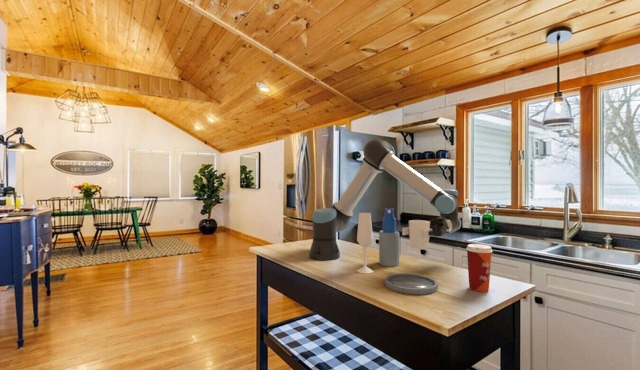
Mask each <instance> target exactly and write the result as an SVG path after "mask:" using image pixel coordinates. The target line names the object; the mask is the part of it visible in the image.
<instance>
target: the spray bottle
mask: <svg viewBox="0 0 640 370" xmlns="http://www.w3.org/2000/svg"><path fill="white" fill-rule="evenodd" d="M394 209H395V208H387V207H386V208H384V216H383V217H382V230H379V233H378V235H379V236H378V244H379V246H378V251H379V252H378V253H379V254H378V265H380V266H384V267H391V268H392V267H398V266H399V265H400V231H399V230H397V218H396V217H395V213H394Z"/></svg>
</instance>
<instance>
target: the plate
mask: <svg viewBox="0 0 640 370" xmlns="http://www.w3.org/2000/svg"><path fill="white" fill-rule="evenodd" d="M384 285H385V287H386V288H388V289H389V290H391V291H393V292H397V293H401V294H405V295H415V296H416V295H417V296H419V295H429V294H430V295H431V294H434V293H436V292H437V291H438V288H439V284H438V280H436V279H434V278H432V277H431V276H429V275H423V274H419V273H408V272H398V273H391V274H389V275H386V276H385V278H384Z"/></svg>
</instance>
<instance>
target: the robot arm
mask: <svg viewBox="0 0 640 370" xmlns="http://www.w3.org/2000/svg"><path fill="white" fill-rule="evenodd" d="M362 153H363V156H364V157H363V158H362V162H363V163H362V166H361V167H360V169H359V170H358V171H357V173H356V175H355V176H354V177H353V179H352V180H351V182H350V183H349V185H348V187H347V188H346V190H345V191H344V193H343V194H342V195H341V197H340V199H339V200H338V201H335V202H334V203H333V204H332V206H331V207H322V208H318V209H315V210H314V211H312V212H313V213H312V219H311V220H312V243H311V246H310V249H309V252H308V257H309V259H313V260H316V261H331V260H332V261H333V260H338V259H339V258H340V257H341V252H340V248H339V245H338V242H337V232H342V231H344V230H346V229H347V227H348V226H350V223H351V219H352V217H353V216H354V213H353V210H354V209H355V207H356V206H357V205H358V203H359V202H360V200H361V199H362V197H363V195H364V194H365V193H366V191H367V190H368V189H369V187H370V185H371V183H372V182H373V181H374V179H375V178H376V177H377V175H378V174H380V173H383V172H384V171H386V172H387V173H389V174H390V175H391V176H393V177H394V178H396V180H397V181H399V182H401V183H402V184H403V185H404V186H406V187H407V188H409V189H410V191H413V192H414V193H415V194H417V195H418V196H419V197H421V199H424V200H425V201H426V202H427V203H428V204H431V206H432V207H434V208H435V209H436V211H438V213H439V217H436V218H432V219H430V220H429V221H430V229H427V230H423V231H422V238H427V237H429V238H430V237H432V236H433V237H443V236H444V235H448V234H452V233H456V232H457V231H458V230H460V228H461V226H462V220H461V219H460V217H459V191H458V190H457V189H442V188H440V187H439V186H437V185H436V184H434V182H432V181H430V180H429V179H428V178H426V177H424V176H423V175H422V174H421V173H419V172H417V171H416V170H415V169H413V168H412V167H411V166H409V165H408V164H407V163H405V162H404V161H402V160H401V159H399V157H397V156H396V155H395V153H396V152H395V149H394V147H393V145H392V144H391V143H389V142H388V141H385V140H383V139H380V138H374V139H373V138H372V139H371V140H370V139H369V141H367V142H366V143H365V145H364V146H363V152H362ZM401 229H402V230H401V231H402V232H401V233H402V234H401V235H402V236H406V235H409V224H407V225H405V227H402V228H401Z"/></svg>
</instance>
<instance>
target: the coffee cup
mask: <svg viewBox="0 0 640 370" xmlns="http://www.w3.org/2000/svg"><path fill="white" fill-rule="evenodd" d="M466 251H467V252H466V254H467V274H468V285H469V286H468V288H469V290H471V291H474V292H478V293H487V291H488V290H489V291H490V279H491V265H492V264H491V263H492V253H494V251H493V250H492V247H491V246H490V245H487V244H481V243H480V244H478V243H472V244H471V243H470V244H467V247H466ZM489 291H488V292H489Z"/></svg>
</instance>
